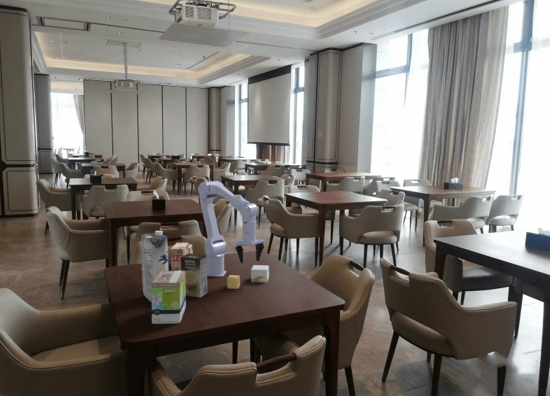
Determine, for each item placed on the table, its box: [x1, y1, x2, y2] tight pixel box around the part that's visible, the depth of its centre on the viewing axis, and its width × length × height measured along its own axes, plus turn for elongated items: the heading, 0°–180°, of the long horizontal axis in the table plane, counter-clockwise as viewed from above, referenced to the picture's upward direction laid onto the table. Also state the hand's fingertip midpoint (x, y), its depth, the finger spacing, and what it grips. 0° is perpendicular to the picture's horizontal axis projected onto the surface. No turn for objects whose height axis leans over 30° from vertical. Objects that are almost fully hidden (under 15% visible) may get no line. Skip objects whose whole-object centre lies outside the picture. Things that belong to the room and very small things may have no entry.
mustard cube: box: [226, 274, 241, 290], centre depth 188 cm, size 4×4×4 cm
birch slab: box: [250, 272, 270, 283], centre depth 197 cm, size 7×7×3 cm
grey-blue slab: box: [250, 264, 270, 277], centre depth 197 cm, size 7×7×3 cm
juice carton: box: [140, 230, 170, 303], centre depth 173 cm, size 9×10×27 cm
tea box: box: [151, 270, 187, 325], centre depth 155 cm, size 15×10×15 cm
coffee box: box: [181, 253, 208, 298], centre depth 178 cm, size 9×6×16 cm
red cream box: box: [170, 242, 194, 271], centre depth 218 cm, size 21×6×12 cm, turn 179°
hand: (249, 261), depth 192 cm, fingers open, 7 cm apart
